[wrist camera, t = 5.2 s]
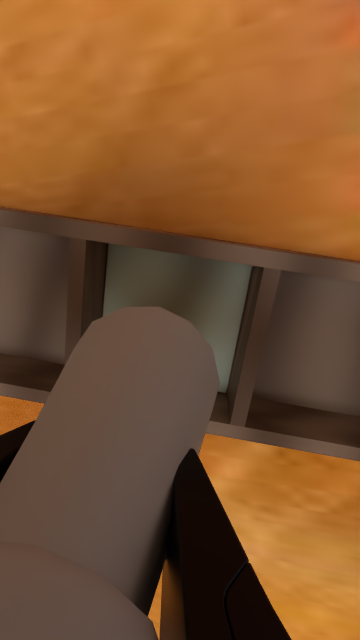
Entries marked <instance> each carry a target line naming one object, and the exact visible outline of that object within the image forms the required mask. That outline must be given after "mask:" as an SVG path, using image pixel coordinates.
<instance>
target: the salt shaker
mask: <svg viewBox="0 0 360 640" xmlns="http://www.w3.org/2000/svg"><path fill="white" fill-rule="evenodd" d="M219 384H220V380H219V376H218V371H217V367H216V362H215V358H214V353H213V350H212V347H211V346H210V344H209V343H208V342H207V341H206V340H205V338H204V337H203V336H202V335H201V334H200V332H199V331H198V330H197V329H196V328H195V326H194V325H193V324H192V323H191V322H190V321H188V320H186V319H184V318H182V317H180V316H178V315H176V314H174V313H172V312H170V311H168V310H166V309H164V308H162V307H125V308H121V309H119V310H117V311H115V312H113V313H111V314H108V315H106V316H104V317H102V318H100V319H97V320H95V321H93V322H92V323H91V324H90V326H89V327H88V329H87V330H86V332H85V333H84V334H83V336H82V337H81V339H80V340H79V342H78V343H77V345H76V346H75V348H74V350H73V351H72V353H71V355H70V357H69V359H68V361H67V363H66V365H65V367H64V368H63V370H62V372H61V374H60V376H59V378H58V380H57V382H56V384H55V385H54V387H53V389H52V391H51V393H50V395H49V397H48V399H47V400H46V402H45V404H44V406H43V408H42V410H41V412H40V414H39V416H38V417H37V419H36V421H35V423H34V425H33V426H32V428H31V430H30V432H29V433H28V435H27V437H26V439H25V440H24V442H23V444H22V446H21V448H20V449H19V451H18V453H17V455H16V456H15V458H14V460H13V462H12V463H11V465H10V467H9V469H8V470H7V472H6V474H5V476H4V477H3V479H2V481H1V483H0V640H158V637H157V634H156V631H155V628H154V625H153V622H152V621H151V620H150V619H149V618H148V614H149V611H150V607H151V604H152V601H153V598H154V595H155V592H156V588H157V585H158V582H159V579H160V576H161V572H162V569H163V566H164V563H165V560H166V554H167V544H168V534H169V526H170V522H171V514H172V498H173V486H174V478H175V474H176V471H177V469H178V466H179V464H180V463H181V461H182V460H183V458H184V457H185V455H186V454H187V452H188V451H189V449H190V448H193V449H195V451H196V453H197V455H199V452H200V448H201V445H202V442H203V439H204V436H205V433H206V429H207V426H208V423H209V420H210V417H211V413H212V410H213V406H214V403H215V399H216V395H217V392H218V388H219Z"/></svg>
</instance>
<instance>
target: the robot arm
mask: <svg viewBox="0 0 360 640" xmlns="http://www.w3.org/2000/svg"><path fill="white" fill-rule="evenodd" d="M35 421H36V420H35ZM35 421H32V422H30V423H28V424H25V425H23V426H21V427H18V428H16V429H14V430H12V431H9V432H7V433H5V434H2V435H0V483H1V481H2V479H3V477H4V476H5V474H6V472H7V470H8V469H9V467H10V465H11V463H12V462H13V460H14V458H15V456H16V455H17V453H18V451H19V449H20V448H21V446H22V444H23V442H24V440H25V439H26V437H27V435H28V433H29V432H30V430H31V428H32V426H33V425H34V423H35ZM248 562H249V560H248V557H247V555H246V553H245V551H244V549H243V547H242V545H241V543H240V541H239V539H238V537H237V535H236V533H235V531H234V529H233V527H232V525H231V522H230V520H229V518H228V516H227V514H226V512H225V510H224V508H223V506H222V504H221V502H220V500H219V498H218V496H217V494H216V492H215V490H214V488H213V486H212V483H211V481H210V479H209V477H208V475H207V473H206V471H205V469H204V467H203V465H202V463H201V461H200V459H199V457H198V455H197V453H196V451H195V449H193V448H190V449H189V451H188V452H187V454H186V455H185V457H184V458H183V460H182V461H181V463H180V464H179V466H178V469H177V471H176V474H175V478H174V486H173V498H172V514H171V522H170V526H169V534H168V544H167V554H166V560H165V563H164V566H163V574H162V596H161V619H160V640H291V638H290V636H289V634H288V633H287V631H286V629H285V628H284V626H283V624H282V622H281V621H280V619H279V617H278V616H277V614H276V612H275V610H274V609H273V607H272V605H271V603H270V601H269V599H268V597H267V595H266V593H265V591H264V590H263V588H262V586H261V584H260V582H259V580H258V578H257V576H256V574H255V571H254V569H253V567H252V565H251V564H250V563H248Z"/></svg>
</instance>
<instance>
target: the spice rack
mask: <svg viewBox="0 0 360 640" xmlns="http://www.w3.org/2000/svg"><path fill="white" fill-rule="evenodd" d="M125 307H162V308H164V309H166V310H168V311H170V312H172V313H174V314H176V315H178V316H180V317H182V318H184V319H186V320H188V321H190V322H191V323H192V324H193V325H194V326H195V328H196V329H197V330H198V331H199V332H200V334H201V335H202V336H203V337H204V338H205V340H206V341H207V342H208V343H209V344H210V346H211V347H212V350H213V353H214V358H215V362H216V367H217V371H218V376H219V380H220V384H219V388H218V392H217V395H216V399H215V403H214V406H213V410H212V413H211V417H210V420H209V423H208V426H207V429H206V433H208V434H214V435H219V436H225V437H230V438H235V439H241V440H246V441H252V442H257V443H263V444H268V445H274V446H279V447H285V448H290V449H296V450H301V451H306V452H312V453H317V454H323V455H328V456H334V457H339V458H345V459H350V460H356V461H360V261H355V260H348V259H342V258H335V257H329V256H322V255H315V254H309V253H302V252H296V251H289V250H282V249H276V248H269V247H263V246H256V245H250V244H243V243H236V242H230V241H223V240H217V239H210V238H203V237H197V236H190V235H184V234H177V233H171V232H164V231H157V230H151V229H144V228H138V227H131V226H124V225H118V224H111V223H105V222H98V221H91V220H85V219H78V218H72V217H65V216H59V215H52V214H45V213H39V212H32V211H26V210H19V209H12V208H6V207H0V395H1V396H6V397H12V398H17V399H23V400H28V401H34V402H39V403H44V404H45V402H46V400H47V399H48V397H49V395H50V393H51V391H52V389H53V387H54V385H55V384H56V382H57V380H58V378H59V376H60V374H61V372H62V370H63V368H64V367H65V365H66V363H67V361H68V359H69V357H70V355H71V353H72V351H73V350H74V348H75V346H76V345H77V343H78V342H79V340H80V339H81V337H82V336H83V334H84V333H85V332H86V330H87V329H88V327H89V326H90V324H91V323H92V322H93V321H95V320H97V319H100V318H102V317H104V316H106V315H108V314H111V313H113V312H115V311H117V310H119V309H121V308H125Z"/></svg>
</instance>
